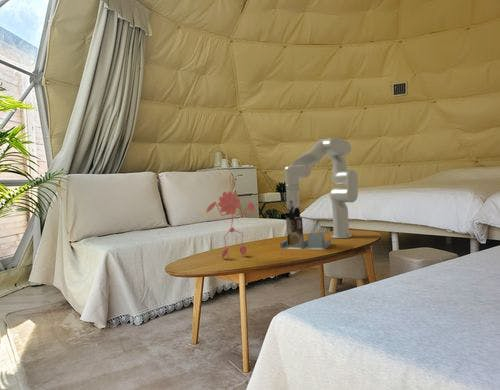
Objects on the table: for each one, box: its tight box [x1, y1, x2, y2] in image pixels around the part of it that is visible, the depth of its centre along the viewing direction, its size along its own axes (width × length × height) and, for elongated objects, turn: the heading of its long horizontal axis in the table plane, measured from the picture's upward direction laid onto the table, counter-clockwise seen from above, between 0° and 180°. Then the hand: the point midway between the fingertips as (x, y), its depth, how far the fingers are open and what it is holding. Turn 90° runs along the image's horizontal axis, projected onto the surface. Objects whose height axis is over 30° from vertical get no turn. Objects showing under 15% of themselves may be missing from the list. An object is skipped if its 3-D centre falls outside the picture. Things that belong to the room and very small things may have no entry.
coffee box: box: [285, 216, 305, 247], centre depth 223 cm, size 9×6×16 cm
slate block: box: [307, 232, 326, 248], centre depth 218 cm, size 5×8×7 cm, turn 66°
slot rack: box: [279, 238, 332, 251], centre depth 221 cm, size 16×25×4 cm, turn 66°
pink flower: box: [205, 191, 255, 261], centre depth 210 cm, size 15×26×35 cm, turn 113°
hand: (294, 218), depth 223 cm, fingers open, 9 cm apart
